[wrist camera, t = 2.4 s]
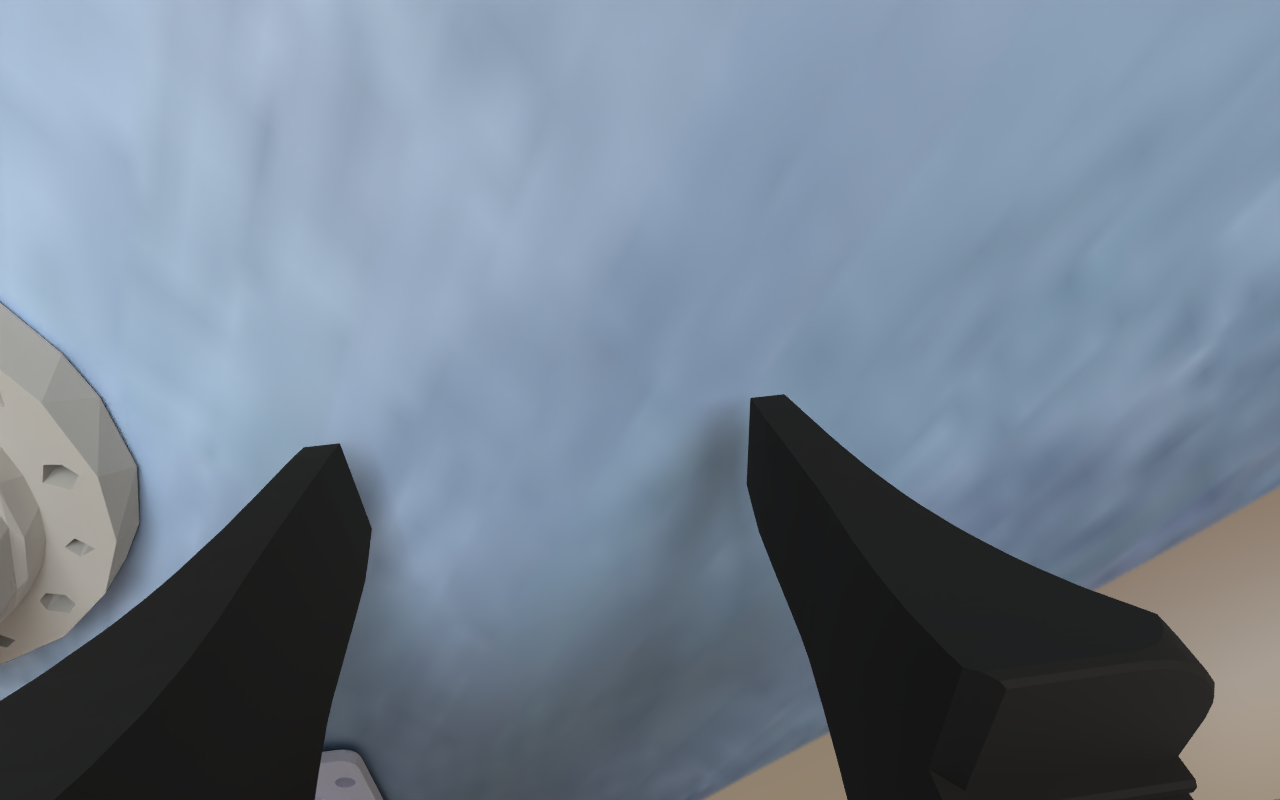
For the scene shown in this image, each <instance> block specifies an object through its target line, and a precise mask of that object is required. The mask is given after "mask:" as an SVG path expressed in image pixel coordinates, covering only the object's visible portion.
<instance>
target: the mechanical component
mask: <svg viewBox="0 0 1280 800" xmlns="http://www.w3.org/2000/svg"><path fill="white" fill-rule="evenodd" d="M138 525H139V503H138V479H137V466H136V464H135V462H134V460H133V458H132V456H131V454H130V452H129V451H128V449H127V447H126V445H125V443H124V441H123V439H122V438H121V436H120V434H119V432H118V430H117V428H116V426H115V425H114V423H113V421H112V419H111V417H110V415H109V413H108V411H107V410H106V408H105V406H104V404H103V402H102V400H101V398H100V397H99V396H98V395H97V393H96V392H95V391H94V390H93V389H92V388H91V386H90V385H89V384H88V383H87V382H86V381H85V380H84V378H83V377H82V376H81V375H80V374H79V373H78V371H77V370H76V369H75V368H74V367H73V366H72V365H71V363H70V362H69V361H68V360H67V359H66V358H65V357H64V355H63V354H62V353H61V352H59V351H58V350H57V349H56V348H55V347H53V346H52V345H51V344H50V343H48V342H47V341H46V340H45V339H44V338H42V337H41V336H40V335H39V334H38V333H36V332H35V331H34V330H33V329H31V328H30V327H29V326H28V325H27V324H25V323H24V322H23V321H22V320H21V319H19V318H18V317H17V316H16V315H14V314H13V313H12V312H11V311H10V310H8V309H7V308H6V307H5V306H4V305H2V304H1V303H0V663H6V662H8V661H11V660H13V659H15V658H17V657H19V656H22V655H24V654H26V653H28V652H31V651H33V650H35V649H37V648H40V647H42V646H44V645H46V644H49V643H51V642H53V641H55V640H58V639H60V638H62V637H64V636H65V635H66V634H67V633H68V632H69V631H70V630H71V629H72V628H73V627H74V626H75V625H76V624H77V623H78V622H79V620H80V619H81V618H82V617H83V616H84V615H85V614H86V613H87V612H88V611H89V610H90V609H91V608H92V607H93V606H94V605H95V604H96V603H97V602H98V601H99V599H100V598H101V597H102V596H103V595H104V594H105V593H106V591H107V590H108V588H109V586H110V585H111V583H112V581H113V580H114V578H115V576H116V574H117V573H118V571H119V569H120V568H121V566H122V564H123V563H124V561H125V559H126V557H127V554H128V552H129V549H130V547H131V544H132V541H133V539H134V536H135V533H136V531H137V528H138Z"/></svg>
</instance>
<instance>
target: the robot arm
mask: <svg viewBox="0 0 1280 800" xmlns="http://www.w3.org/2000/svg"><path fill="white" fill-rule="evenodd" d="M747 487H748V491H749V495H750V499H751V503H752V507H753V511H754V515H755V518H756V522H757V526H758V529H759V533H760V536H761V538H762V541H763V543H764V546H765V548H766V551H767V553H768V556H769V558H770V561H771V563H772V566H773V568H774V571H775V573H776V576H777V578H778V581H779V583H780V586H781V588H782V591H783V593H784V596H785V598H786V600H787V603H788V605H789V608H790V610H791V613H792V615H793V618H794V620H795V623H796V625H797V628H798V630H799V633H800V635H801V638H802V641H803V643H804V646H805V649H806V652H807V655H808V657H809V661H810V664H811V667H812V671H813V674H814V678H815V681H816V685H817V688H818V692H819V695H820V699H821V702H822V705H823V709H824V713H825V716H826V720H827V724H828V727H829V731H830V735H831V738H832V742H833V746H834V749H835V753H836V756H837V760H838V764H839V768H840V772H841V776H842V780H843V784H844V788H845V792H846V795H847V799H848V800H1193V799H1192V797H1191V796H1190V794H1189V793H1191V792H1194V790H1195V789H1196V788H1197V785H1196V780H1195V778H1194V777H1193V776H1192V774H1191V773H1190V771H1189V770H1188V769H1187V767H1186V766H1185V765H1184V763H1183V762H1182V761H1181V759H1180V758H1179V757H1178V756H1179V754H1180V753H1181V751H1182V750H1183V748H1184V747H1185V746H1186V744H1187V743H1188V741H1189V740H1190V739H1191V737H1192V736H1193V734H1194V733H1195V732H1196V730H1197V729H1198V727H1199V726H1200V724H1201V723H1202V722H1203V720H1204V719H1205V717H1206V715H1207V713H1208V711H1209V709H1210V707H1211V705H1212V703H1213V699H1214V681H1213V679H1212V678H1211V676H1210V675H1209V674H1208V672H1207V670H1206V669H1205V668H1204V667H1203V666H1202V665H1201V664H1200V662H1199V661H1198V660H1197V659H1196V658H1195V656H1194V655H1193V654H1192V653H1191V652H1190V650H1189V649H1188V648H1187V647H1186V646H1185V644H1184V643H1183V642H1182V641H1181V640H1180V639H1179V637H1178V636H1177V635H1176V634H1175V633H1174V632H1173V631H1172V630H1171V629H1170V627H1169V626H1168V625H1167V624H1166V623H1165V622H1164V621H1163V620H1162V619H1161V618H1160V617H1159V616H1158V615H1157V614H1155V613H1153V612H1150V611H1147V610H1144V609H1141V608H1138V607H1136V606H1133V605H1130V604H1128V603H1125V602H1122V601H1119V600H1116V599H1114V598H1111V597H1108V596H1105V595H1103V594H1100V593H1097V592H1094V591H1092V590H1089V589H1086V588H1084V587H1081V586H1079V585H1076V584H1074V583H1071V582H1069V581H1067V580H1064V579H1062V578H1060V577H1057V576H1055V575H1053V574H1050V573H1048V572H1046V571H1043V570H1041V569H1039V568H1036V567H1034V566H1032V565H1030V564H1028V563H1026V562H1023V561H1021V560H1019V559H1017V558H1015V557H1013V556H1011V555H1009V554H1007V553H1005V552H1003V551H1001V550H999V549H997V548H995V547H993V546H991V545H989V544H987V543H985V542H983V541H981V540H980V539H978V538H976V537H974V536H972V535H970V534H968V533H966V532H965V531H963V530H961V529H959V528H958V527H956V526H954V525H952V524H951V523H949V522H947V521H946V520H944V519H942V518H941V517H939V516H938V515H936V514H934V513H933V512H931V511H930V510H928V509H926V508H925V507H923V506H921V505H920V504H918V503H917V502H915V501H914V500H912V499H911V498H909V497H908V496H906V495H905V494H903V493H902V492H901V491H899V490H898V489H896V488H895V487H894V486H892V485H891V484H890V483H888V482H887V481H885V480H884V479H883V478H881V477H880V476H879V475H877V474H876V473H875V472H873V471H872V470H871V469H869V468H868V467H867V466H866V465H864V464H863V463H862V462H861V461H859V460H858V459H857V458H856V457H855V456H853V455H852V454H851V453H850V452H849V451H847V450H846V449H845V448H844V447H843V446H841V445H840V444H839V443H838V442H837V441H836V440H834V439H833V438H832V437H831V436H830V435H829V434H828V433H826V432H825V431H824V430H823V429H822V428H821V427H820V426H819V425H818V424H816V423H815V422H814V421H813V420H812V419H811V418H810V417H809V416H808V415H807V414H805V413H804V412H803V411H802V410H801V409H800V408H799V407H798V406H797V405H795V404H794V403H793V402H792V401H791V400H790V399H789V398H788V397H786V396H785V395H784V394H783V395H774V396H765V397H756V398H751V399H750V422H749V445H748V468H747ZM371 530H372V528H371V525H370V523H369V520H368V517H367V515H366V512H365V509H364V507H363V504H362V501H361V499H360V496H359V493H358V491H357V488H356V485H355V483H354V480H353V477H352V475H351V472H350V469H349V467H348V464H347V461H346V459H345V456H344V453H343V451H342V448H341V445H340V444H331V445H322V446H313V447H304V448H303V449H302V450H301V451H300V452H299V453H297V454H296V455H295V456H294V457H293V458H292V459H291V460H290V461H289V462H288V463H287V464H286V465H285V466H284V467H283V468H282V469H281V470H280V472H279V473H278V474H277V475H276V476H275V477H274V478H273V479H272V480H271V481H270V482H269V483H268V484H267V485H266V486H265V487H264V488H263V489H262V490H261V491H260V492H259V493H258V494H257V495H256V496H255V497H254V498H253V499H252V500H251V501H250V502H249V503H248V504H247V505H246V506H245V507H244V508H243V509H242V510H241V511H240V512H239V513H238V514H237V515H236V516H235V518H234V519H233V520H232V521H231V522H230V523H229V524H228V525H227V526H226V527H225V528H224V529H223V530H222V531H220V532H219V533H218V534H217V535H216V536H215V537H214V538H213V539H212V540H211V541H210V542H209V543H208V544H206V545H205V546H204V547H203V548H202V549H201V550H200V551H199V552H198V553H197V554H196V555H195V556H193V557H192V558H191V559H190V560H189V561H188V562H187V563H186V564H185V565H184V566H183V567H182V568H181V569H179V570H178V571H177V572H176V573H175V574H174V575H173V576H172V577H171V578H169V579H168V580H167V581H166V582H165V583H164V584H162V585H161V586H160V587H159V588H158V589H156V590H155V591H154V592H153V593H152V594H150V595H149V596H148V597H147V598H146V599H144V600H143V601H142V602H141V603H139V604H138V605H137V606H135V607H134V608H133V609H132V610H130V611H129V612H128V613H127V614H125V615H124V616H123V617H122V618H120V619H119V620H118V621H116V622H115V623H114V624H112V625H111V626H110V627H108V628H107V629H106V630H105V631H103V632H102V633H100V634H99V635H97V636H96V637H95V638H93V639H92V640H90V641H89V642H87V643H86V644H85V645H83V646H82V647H80V648H79V649H77V650H76V651H75V652H73V653H72V654H70V655H69V656H67V657H66V658H65V659H63V660H62V661H60V662H59V663H58V664H56V665H55V666H53V667H52V668H50V669H49V670H48V671H46V672H45V673H43V674H42V675H40V676H39V677H37V678H36V679H34V680H33V681H31V682H29V683H28V684H26V685H25V686H23V687H22V688H20V689H18V690H17V691H15V692H14V693H12V694H11V695H9V696H7V697H6V698H4V699H3V700H1V701H0V800H383V798H382V796H381V794H380V792H379V790H378V788H377V787H376V785H375V783H374V781H373V779H372V777H371V775H370V773H369V771H368V769H367V767H366V765H365V763H364V762H363V760H362V758H361V757H360V756H359V755H358V754H357V753H356V752H354V751H351V750H346V749H343V750H332V751H325V752H322V751H323V745H324V739H325V732H326V726H327V722H328V717H329V713H330V709H331V704H332V700H333V696H334V692H335V689H336V685H337V682H338V678H339V674H340V671H341V667H342V664H343V660H344V656H345V653H346V649H347V646H348V642H349V638H350V635H351V631H352V628H353V624H354V621H355V617H356V613H357V609H358V606H359V602H360V598H361V595H362V591H363V587H364V583H365V578H366V571H367V564H368V556H369V548H370V539H371ZM1275 800H1280V799H1275Z"/></svg>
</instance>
